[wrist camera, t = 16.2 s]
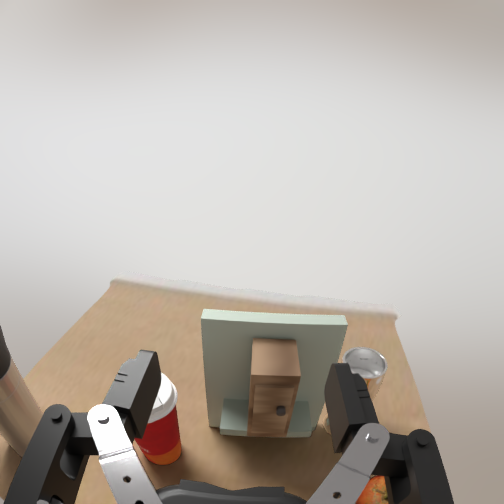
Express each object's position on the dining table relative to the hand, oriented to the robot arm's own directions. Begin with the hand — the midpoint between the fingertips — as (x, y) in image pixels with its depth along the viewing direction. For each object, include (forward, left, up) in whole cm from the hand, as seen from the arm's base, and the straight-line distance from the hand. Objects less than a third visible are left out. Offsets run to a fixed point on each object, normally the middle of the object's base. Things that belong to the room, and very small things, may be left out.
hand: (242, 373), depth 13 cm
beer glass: (+16, +19, -32) cm, 41 cm away
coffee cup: (-12, +12, -32) cm, 36 cm away
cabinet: (+3, +15, -24) cm, 28 cm away
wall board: (+3, +18, -32) cm, 37 cm away
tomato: (+20, +3, -32) cm, 38 cm away
